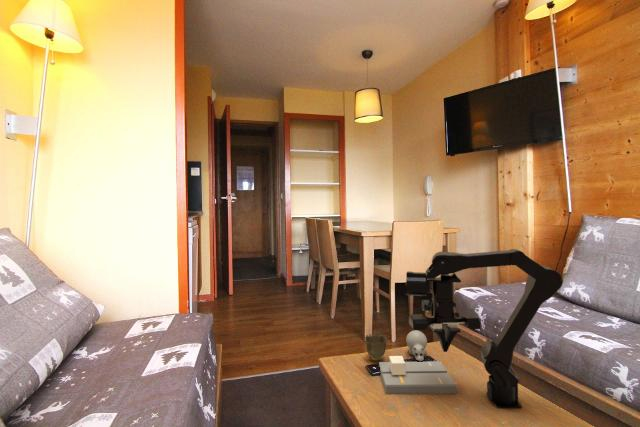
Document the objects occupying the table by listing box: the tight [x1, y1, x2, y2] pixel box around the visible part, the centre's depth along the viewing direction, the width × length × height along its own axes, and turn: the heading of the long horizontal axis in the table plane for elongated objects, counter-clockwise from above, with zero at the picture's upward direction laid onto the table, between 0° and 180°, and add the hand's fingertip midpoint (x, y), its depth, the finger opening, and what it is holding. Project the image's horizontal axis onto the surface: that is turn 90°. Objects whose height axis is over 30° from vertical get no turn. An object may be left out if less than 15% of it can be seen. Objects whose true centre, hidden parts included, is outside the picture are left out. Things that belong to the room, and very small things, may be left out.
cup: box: [364, 333, 388, 363], centre depth 115 cm, size 8×7×8 cm
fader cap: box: [388, 355, 406, 375], centre depth 101 cm, size 4×5×4 cm
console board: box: [378, 360, 458, 395], centre depth 101 cm, size 20×14×3 cm
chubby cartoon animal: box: [405, 330, 428, 361], centre depth 116 cm, size 7×12×8 cm, turn 168°
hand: (444, 351), depth 93 cm, fingers closed
